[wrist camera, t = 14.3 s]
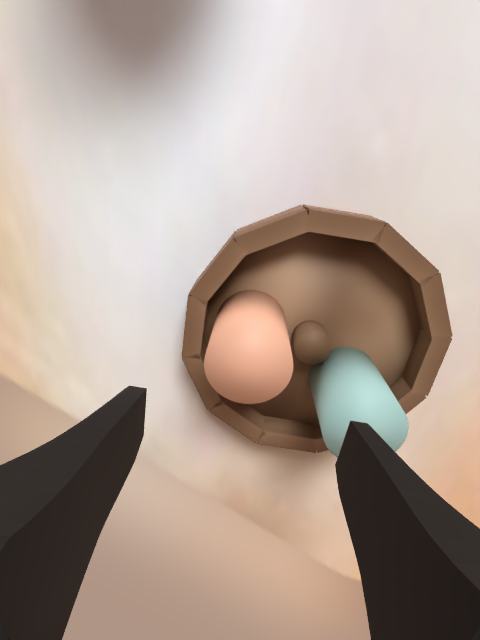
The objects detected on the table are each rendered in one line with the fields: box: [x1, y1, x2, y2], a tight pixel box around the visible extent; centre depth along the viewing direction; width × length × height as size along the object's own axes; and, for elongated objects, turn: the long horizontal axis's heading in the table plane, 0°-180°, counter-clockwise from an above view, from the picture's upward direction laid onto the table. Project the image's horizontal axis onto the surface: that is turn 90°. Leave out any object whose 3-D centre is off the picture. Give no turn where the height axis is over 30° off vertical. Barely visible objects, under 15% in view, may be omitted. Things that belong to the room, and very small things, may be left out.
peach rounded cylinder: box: [204, 290, 293, 404], centre depth 18 cm, size 4×4×5 cm
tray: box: [182, 205, 452, 453], centre depth 21 cm, size 14×14×2 cm
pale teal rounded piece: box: [309, 347, 408, 457], centre depth 20 cm, size 4×4×5 cm
